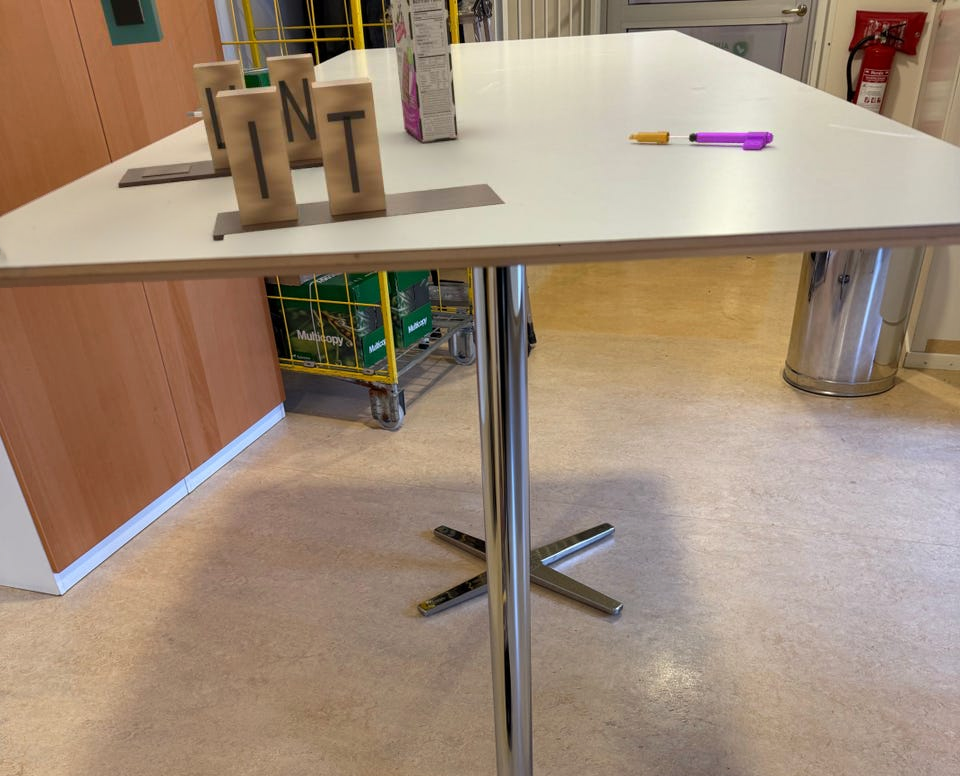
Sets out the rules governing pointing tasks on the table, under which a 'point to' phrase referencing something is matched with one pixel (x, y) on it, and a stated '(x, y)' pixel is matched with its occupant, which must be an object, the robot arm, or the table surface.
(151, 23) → the teal rectangular slab
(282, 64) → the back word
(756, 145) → the marker pen
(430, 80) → the candy bar box
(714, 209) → the table surface
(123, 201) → the table surface
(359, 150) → the front word
